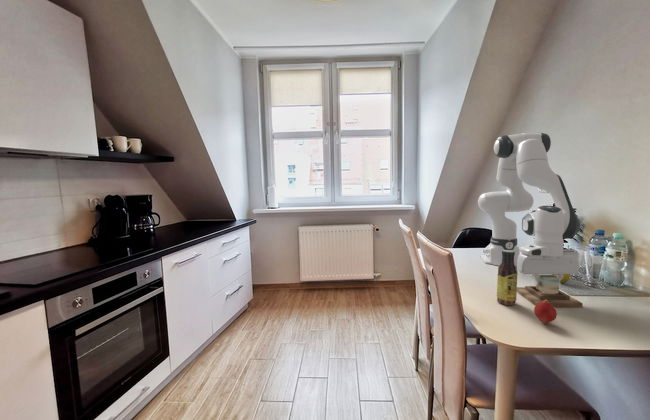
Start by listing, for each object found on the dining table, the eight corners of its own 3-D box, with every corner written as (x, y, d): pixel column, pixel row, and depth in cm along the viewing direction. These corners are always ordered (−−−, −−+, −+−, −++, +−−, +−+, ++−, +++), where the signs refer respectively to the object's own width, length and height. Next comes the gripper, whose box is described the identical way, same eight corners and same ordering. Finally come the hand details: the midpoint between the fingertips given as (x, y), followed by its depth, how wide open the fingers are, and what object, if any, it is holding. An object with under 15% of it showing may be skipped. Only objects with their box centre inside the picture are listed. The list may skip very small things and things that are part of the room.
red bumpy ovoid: (529, 319, 95) (529, 296, 94) (545, 318, 96) (546, 295, 95) (543, 328, 89) (544, 303, 89) (561, 327, 90) (562, 302, 89)
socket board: (514, 290, 119) (515, 283, 119) (554, 291, 117) (554, 284, 117) (536, 306, 104) (536, 298, 104) (582, 307, 102) (582, 299, 102)
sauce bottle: (509, 307, 104) (511, 254, 102) (493, 301, 110) (493, 250, 108) (520, 303, 107) (521, 251, 105) (503, 297, 113) (504, 248, 111)
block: (535, 288, 113) (536, 273, 112) (549, 288, 112) (550, 273, 112) (543, 293, 108) (544, 277, 107) (558, 293, 107) (559, 277, 107)
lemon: (572, 285, 122) (573, 267, 121) (558, 285, 123) (558, 266, 122) (564, 281, 127) (565, 263, 127) (550, 280, 129) (551, 263, 128)
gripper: (572, 247, 110) (570, 281, 112) (515, 247, 113) (514, 281, 114) (585, 250, 104) (583, 287, 105) (524, 251, 107) (523, 287, 108)
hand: (546, 284), depth 110 cm, fingers closed on block, 5 cm apart
